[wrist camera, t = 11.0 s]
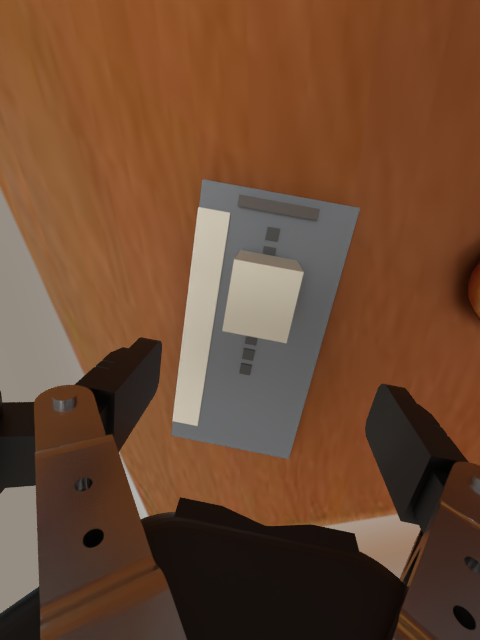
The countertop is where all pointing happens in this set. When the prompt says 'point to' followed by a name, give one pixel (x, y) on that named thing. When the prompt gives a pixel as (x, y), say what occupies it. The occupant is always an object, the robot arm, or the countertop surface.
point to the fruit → (475, 289)
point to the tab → (262, 296)
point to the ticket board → (245, 351)
